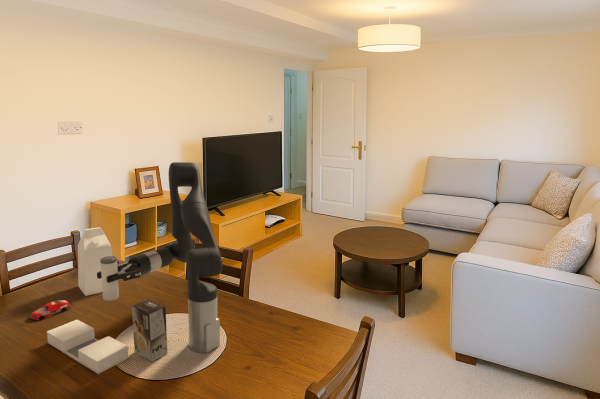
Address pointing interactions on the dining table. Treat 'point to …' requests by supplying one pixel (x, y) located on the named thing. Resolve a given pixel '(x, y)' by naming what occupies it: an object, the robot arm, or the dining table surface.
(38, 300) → the dining table surface
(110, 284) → the grey-capped white cylinder
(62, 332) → the white block holder
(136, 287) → the dining table surface
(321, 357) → the dining table surface
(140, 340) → the coffee box
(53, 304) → the race car
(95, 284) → the milk
